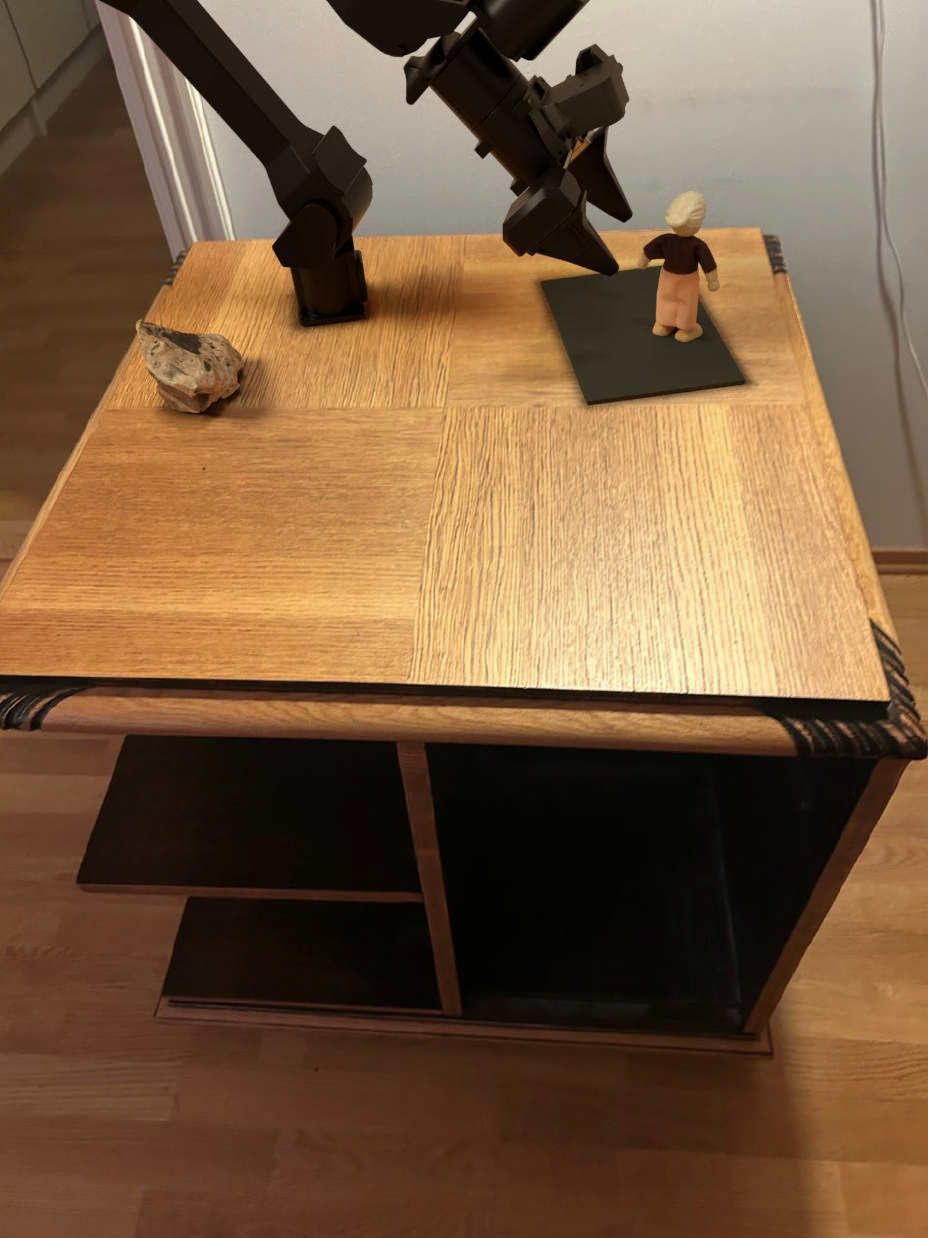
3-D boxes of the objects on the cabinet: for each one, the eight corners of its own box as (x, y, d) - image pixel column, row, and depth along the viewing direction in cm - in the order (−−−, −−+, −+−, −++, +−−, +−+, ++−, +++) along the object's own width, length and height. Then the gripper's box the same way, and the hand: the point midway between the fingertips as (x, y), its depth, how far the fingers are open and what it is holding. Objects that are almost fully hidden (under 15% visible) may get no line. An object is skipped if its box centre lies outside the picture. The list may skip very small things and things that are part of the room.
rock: (148, 346, 86) (100, 337, 76) (209, 302, 85) (169, 287, 75) (203, 427, 87) (162, 429, 77) (264, 385, 86) (231, 381, 76)
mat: (586, 404, 79) (587, 401, 79) (540, 284, 92) (540, 280, 92) (745, 383, 80) (745, 379, 79) (677, 266, 93) (677, 262, 92)
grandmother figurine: (717, 325, 85) (741, 188, 75) (707, 348, 83) (731, 210, 73) (636, 311, 87) (649, 176, 77) (624, 333, 85) (636, 197, 75)
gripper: (546, 71, 62) (689, 240, 68) (588, -19, 74) (707, 133, 80) (441, 181, 70) (579, 324, 76) (494, 84, 81) (610, 215, 87)
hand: (622, 244), depth 80 cm, fingers open, 9 cm apart
